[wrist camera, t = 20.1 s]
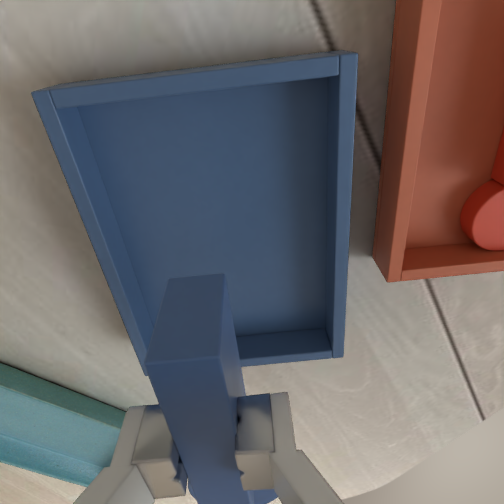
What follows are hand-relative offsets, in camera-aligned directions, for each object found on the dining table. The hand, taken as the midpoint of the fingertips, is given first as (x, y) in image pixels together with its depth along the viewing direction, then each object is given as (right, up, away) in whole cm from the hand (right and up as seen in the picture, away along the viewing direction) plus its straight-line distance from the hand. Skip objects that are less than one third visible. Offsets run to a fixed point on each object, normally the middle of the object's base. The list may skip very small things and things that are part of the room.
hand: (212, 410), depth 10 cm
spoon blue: (0, -1, +3) cm, 3 cm away
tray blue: (0, +6, +9) cm, 11 cm away
